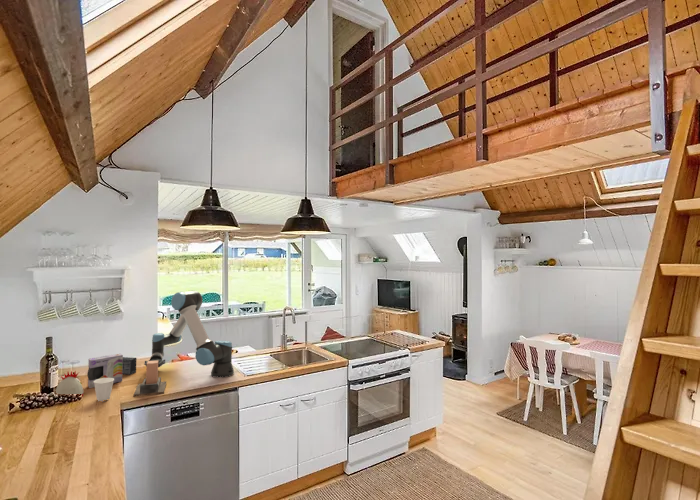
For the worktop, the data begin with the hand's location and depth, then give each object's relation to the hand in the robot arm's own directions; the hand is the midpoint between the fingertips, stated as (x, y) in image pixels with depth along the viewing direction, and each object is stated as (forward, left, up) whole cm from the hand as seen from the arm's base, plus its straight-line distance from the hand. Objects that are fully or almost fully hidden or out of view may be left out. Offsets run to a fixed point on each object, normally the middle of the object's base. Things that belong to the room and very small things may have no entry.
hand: (152, 368), depth 247 cm
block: (0, +4, -9) cm, 10 cm away
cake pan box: (+28, -9, -10) cm, 31 cm away
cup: (+23, +20, -10) cm, 32 cm away
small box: (+19, -30, -10) cm, 37 cm away
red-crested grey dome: (+42, +10, -10) cm, 44 cm away
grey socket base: (0, +10, -10) cm, 14 cm away
